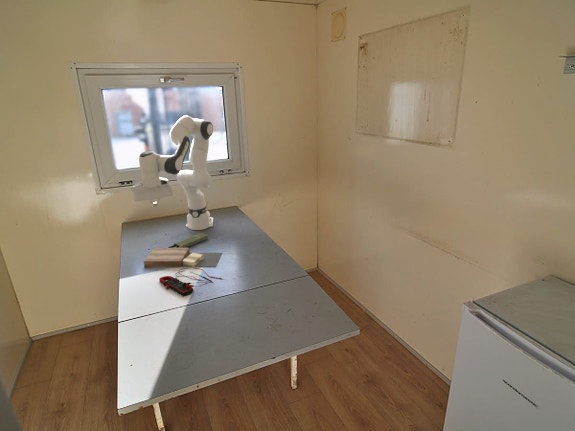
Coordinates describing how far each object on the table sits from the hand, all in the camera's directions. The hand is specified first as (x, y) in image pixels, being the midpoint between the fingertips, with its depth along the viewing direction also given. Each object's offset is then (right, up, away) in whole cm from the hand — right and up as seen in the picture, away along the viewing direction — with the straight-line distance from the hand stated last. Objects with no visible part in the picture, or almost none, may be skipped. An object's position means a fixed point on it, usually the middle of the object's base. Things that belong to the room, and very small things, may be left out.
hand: (155, 205), depth 190 cm
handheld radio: (+10, -21, +20) cm, 31 cm away
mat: (+26, -30, +1) cm, 40 cm away
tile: (+22, -31, -2) cm, 38 cm away
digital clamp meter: (+25, -39, -20) cm, 50 cm away
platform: (+7, -30, +1) cm, 31 cm away
